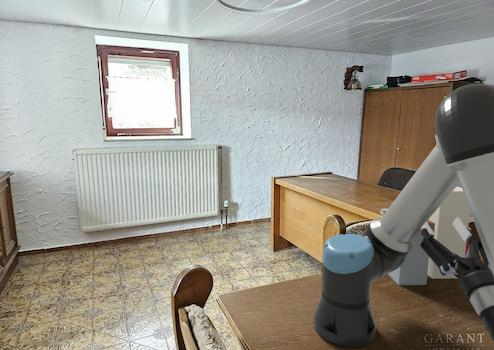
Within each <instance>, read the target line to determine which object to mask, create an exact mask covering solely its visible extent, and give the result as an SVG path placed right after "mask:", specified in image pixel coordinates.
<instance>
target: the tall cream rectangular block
mask: <svg viewBox="0 0 494 350" xmlns="http://www.w3.org/2000/svg"><path fill="white" fill-rule="evenodd" d="M470 214H471V211H470V209H469V206H468V203H467V200H466V197H465V195H464V192H463V189H462V187H460V186H457V187H456V188H455V189H454V190H453V192H452V193H451V194H450V195H449V196H448V197H447V199H446V200H445V201H444V202H443V203H442V204H441V205H440V207H439V208H438V209H437V210H436V211H435V212H434V214H433V215H432V216H431V217H430V218H429V219H428V220H430V221H432V222H434V223H435V230H434V234H435V237H434V238H435V239H436V240H437V241H438V242H440V243H441V244H442V245H443V246H445V247H446V248H447V249H448V250H450V251H451V252H452V253H453V254H457V255H458V256H460V257H463V258H465V250H466V242H464V240H463V239H462V237H461V236H460V234H459V233H458V232H457V230H456V229H455V227H454V226H453V222H454V220H455V219H456V217H459V218H460V220H461V221H462V222H463V224H464V225H465V227H466V228H468V227H469V224H470ZM455 261H456V259H455ZM455 261H454V263H455ZM450 267H451V266H450ZM451 268H452V267H451ZM427 276H429V277H430V278H431V279H434V280H436V279H438V280H441V279H443V280H446V279H458V278H457V277H456V276H455V275H454V274H446V275H445V276H443V275H442V274H441V273H440V270H439V268H438V267H437V265H436V264H435V263H434V262H433V261H432V259H431V258H430V257H429V263H428V273H427Z"/></svg>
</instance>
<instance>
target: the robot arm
mask: <svg viewBox="0 0 494 350" xmlns="http://www.w3.org/2000/svg"><path fill="white" fill-rule="evenodd" d="M434 116H435V117H434V127H435V134H434V138H435V139H434V140H435V143H436V145H435V146H434V147H433V148H432V150H431V151H430V153H429V154H428V156H427V157H426V158H425V160H424V161H423V162H422V163H421V165H419V167H418V168H417V170H416V171H415V173H414V174H413V175H412V177H411V178H410V179H409V180H408V182H407V183H406V185H404V187H403V189H402V190H401V191H400V193H399V194H398V195H397V196H396V197H395V199H394V200H393V201H392V203H390V204H391V206H390V207H389V208H388V207H387V208H388V210H387V211H386V212H385V214H384V215H382V216H381V217H380V218H379V217H378V218H374V219H372V220H370V222H369V223H368V225H367V226H366V228H365V229H364V231H363V232H362V233H361V234H357V233H345V234H342V233H339V234H336V235H333V236H331V237H329V238H327V240H326V241H325V243H324V244H323V249H322V250H323V251H322V256H321V260H322V267H321V268H322V269H321V270H322V271H321V296H320V299H319V301H318V303H317V305H316V308H315V310H314V313H313V326H314V327H313V328H314V330H315V331H316V333H317V334H318V335H319V336H320V337H321V338H323V339H324V340H326V341H327V342H328V343H331V344H333V345H336V346H339V347H340V346H341V347H343V348H362V347H365V346H368V345H370V344H371V343H372V342H373V341H374V340H375V337H376V329H377V328H376V322H375V318H374V314H373V311H372V308H371V304H370V302H371V299H370V298H371V288H372V284H373V283H374V282H376V281H378V280H379V279H381V278H383V277H385V276H386V275H388V273H390V272H392V271H394V270H396V269H398V268H399V267H400V266H401V265H402V264H403V263H404V261H405V260H406V257H407V254H408V253H409V251H410V250H411V249H412V241H411V239H412V238H413V237H414V235H415V234H416V233H417V232H418V231H419V230H420V229H421V230H422V231H421V234H422V236H423V237H424V238H423V240H422V242H421V244H420V246H421V247H422V249H423V250H424V251H425V252H426V253H427V255H428V256H429V257H430V258H431V259H432V261H433V262H434V263H435V264H436V265H437V267H438V268H439V270H440V273H441V274H442V275H443V276H445V275H446V274H454V275H455V276H456V277H457V278H456V279H458V282H459V284H460V285H459V286H460V287H461V289H462V290H463V293H464V294H465V295H466V298H468V299H469V302H470V304H471V305H472V307H473V309H474V310H475V313H477V316H478V317H479V319H480V320H481V322H482V324H483V325H484V326H483V327H485V329H486V331H487V332H488V334H489V335H490V337H491V340H492V341H493V342H494V85H491V84H487V83H470V84H466V85H463V86H460V87H458V88H456V89H454V90H452V91H451V92H450V93H448V94H447V95H446V96H445V97H444V98H443V99H441V102H440V103H439V105H438V107H437V109H436V112H435V115H434ZM458 185H460V186H461V188H462V189H463V192H464V195H465V197H466V200H467V203H468V206H469V209H470V214H471V217H472V220H473V222H474V225H475V228H476V231H477V234H478V236H479V237H478V236H476V235H475V234H474V233H473V232H472V230H470V229H471V228H470V227H469V228H470V229H469V228H466V227H465V225H464V224H463V222H462V221H461V220H460V218H459V217H456V219H455V220H454V222H453V226H454V227H455V229H456V230H457V232H458V233H459V234H460V236H461V237H462V239H463V240H464V242H468V240H469V243H468V244H469V257H468V258H463V257H460V256H458V255H457V254H453V253H452V252H451V251H450V250H448V249H447V248H446V247H445V246H443V245H442V244H441V243H440V242H438V241H437V240H436V239H435V238H434V237H435V234H434V233H433V231H432V229H431V228H430V226H429V224H428V223H427V220H428V219H429V218H430V217H431V216H432V215H433V214H434V212H435V211H436V210H437V209H438V208H439V207H440V205H441V204H442V203H443V202H444V201H445V200H446V199H447V197H448V196H449V195H450V194H451V193H452V192H453V190H454V189H455V188H456V187H459V186H458ZM468 244H467V245H468ZM455 259H456V261H455ZM454 261H455V263H454ZM482 261H483V263H484V264H483V263H482ZM450 266H451V267H452V268H451V267H450Z"/></svg>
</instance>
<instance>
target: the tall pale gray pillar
mask: <svg viewBox="0 0 494 350" xmlns="http://www.w3.org/2000/svg"><path fill="white" fill-rule="evenodd" d="M423 238H424V237H423V236H422V235H420V234H419V233H416V234H415V235H414V237H413V238H412V239H411V241H412V249H411V250H410V251H409V253H408V254H407V257H406V260H405V261H404V263H403V264H402V265H401V266H400V267H399V268H398V269H396V270H394V271H392V272H390V273H388V274H387V275H388V276H389V277H390V278H391V279H392V280H393V281H394V282H395V283H396V284H397V286H426V285H427V283H428V274H427V273H428V263H429V256H428V255H427V253H426V252H425V251H424V250H423V249H422V247H421V246H420V244H421V242H422V240H423Z"/></svg>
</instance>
